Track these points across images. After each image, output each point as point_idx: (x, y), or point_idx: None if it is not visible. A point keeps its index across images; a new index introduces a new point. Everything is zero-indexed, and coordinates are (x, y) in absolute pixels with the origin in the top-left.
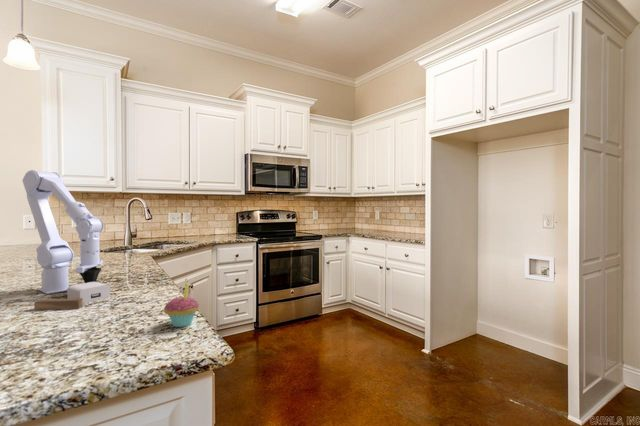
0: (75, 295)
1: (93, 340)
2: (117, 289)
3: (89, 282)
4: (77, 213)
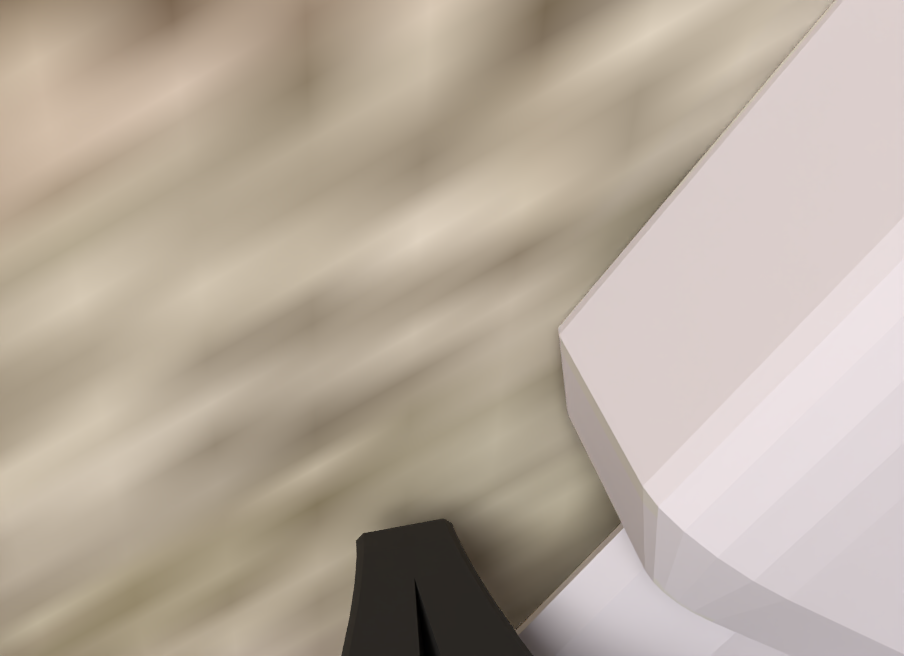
0: None
1: None
2: (56, 22)
3: (855, 609)
4: None
